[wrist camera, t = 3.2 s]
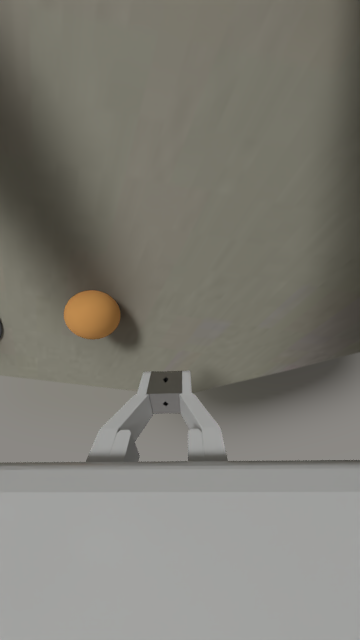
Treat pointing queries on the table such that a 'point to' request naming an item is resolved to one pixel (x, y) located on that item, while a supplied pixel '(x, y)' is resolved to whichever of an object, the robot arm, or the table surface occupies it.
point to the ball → (92, 314)
